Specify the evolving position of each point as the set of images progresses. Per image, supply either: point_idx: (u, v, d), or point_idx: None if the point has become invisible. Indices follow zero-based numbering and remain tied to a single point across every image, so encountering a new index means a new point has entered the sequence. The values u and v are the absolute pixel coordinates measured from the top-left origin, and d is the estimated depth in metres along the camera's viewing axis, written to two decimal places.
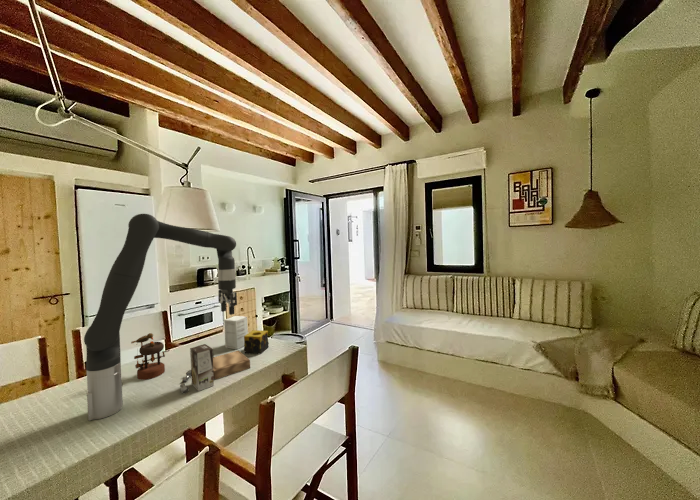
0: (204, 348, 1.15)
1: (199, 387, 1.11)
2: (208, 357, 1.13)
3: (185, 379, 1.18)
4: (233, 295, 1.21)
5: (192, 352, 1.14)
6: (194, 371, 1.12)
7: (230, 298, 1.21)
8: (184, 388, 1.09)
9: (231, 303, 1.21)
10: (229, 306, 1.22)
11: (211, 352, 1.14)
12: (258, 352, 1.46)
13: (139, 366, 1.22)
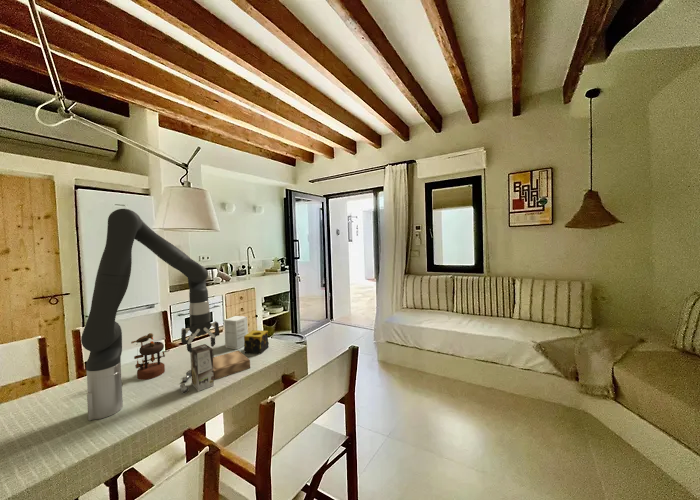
0: (204, 348, 1.15)
1: (199, 387, 1.11)
2: (208, 357, 1.13)
3: (185, 379, 1.18)
4: None
5: (192, 352, 1.14)
6: (194, 371, 1.12)
7: (216, 328, 1.18)
8: (184, 388, 1.09)
9: (218, 332, 1.19)
10: (213, 337, 1.17)
11: (211, 352, 1.14)
12: (258, 352, 1.46)
13: (139, 366, 1.22)
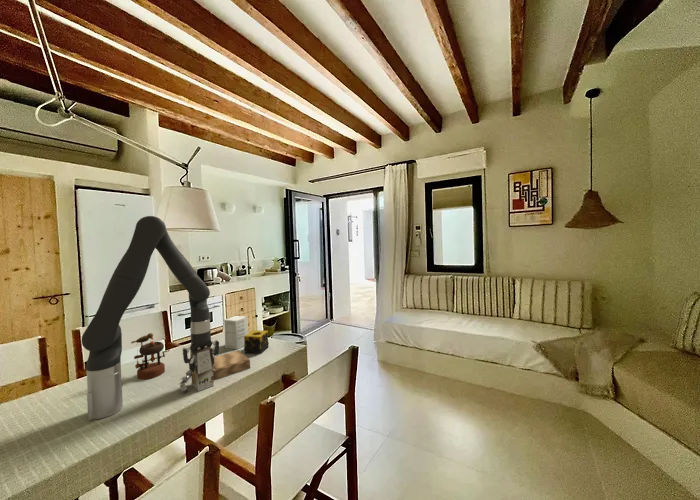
0: (204, 348, 1.15)
1: (199, 387, 1.11)
2: (208, 357, 1.13)
3: (185, 379, 1.18)
4: None
5: (192, 352, 1.14)
6: (194, 371, 1.12)
7: (216, 347, 1.18)
8: (184, 388, 1.09)
9: (218, 352, 1.18)
10: None
11: (211, 352, 1.14)
12: (258, 352, 1.46)
13: (139, 366, 1.22)
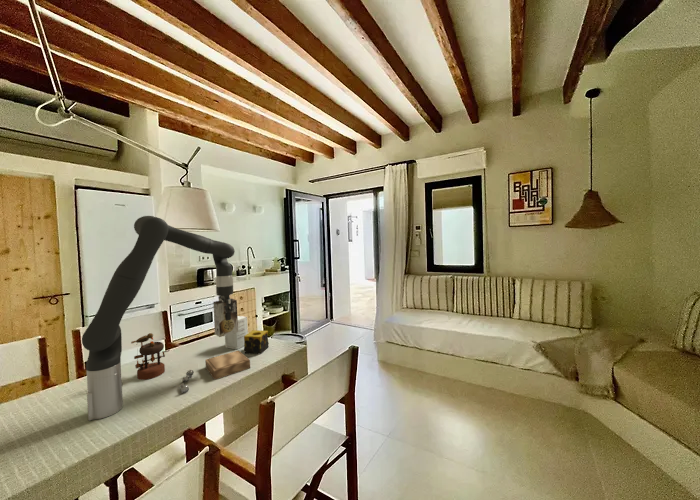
0: None
1: (237, 329, 1.32)
2: None
3: (185, 379, 1.18)
4: None
5: (225, 304, 1.27)
6: None
7: None
8: (184, 388, 1.09)
9: None
10: None
11: None
12: (258, 352, 1.46)
13: (139, 366, 1.22)
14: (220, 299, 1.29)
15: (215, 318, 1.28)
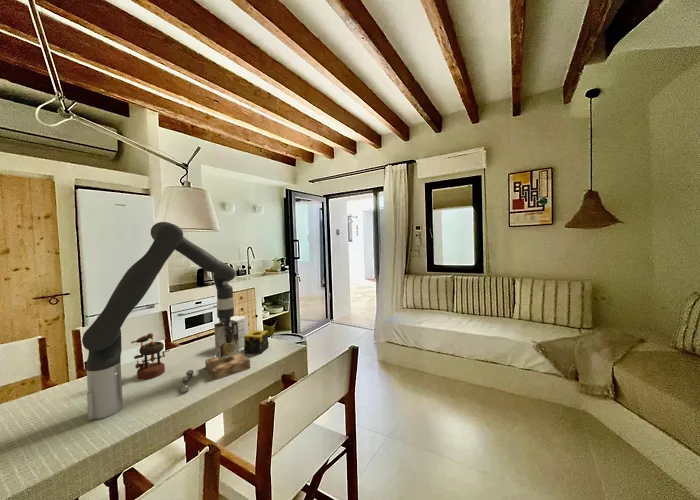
0: None
1: (238, 350, 1.32)
2: None
3: (185, 379, 1.18)
4: None
5: (226, 327, 1.27)
6: None
7: None
8: (184, 388, 1.09)
9: None
10: None
11: None
12: (258, 352, 1.46)
13: (139, 366, 1.22)
14: (221, 321, 1.29)
15: (216, 341, 1.28)
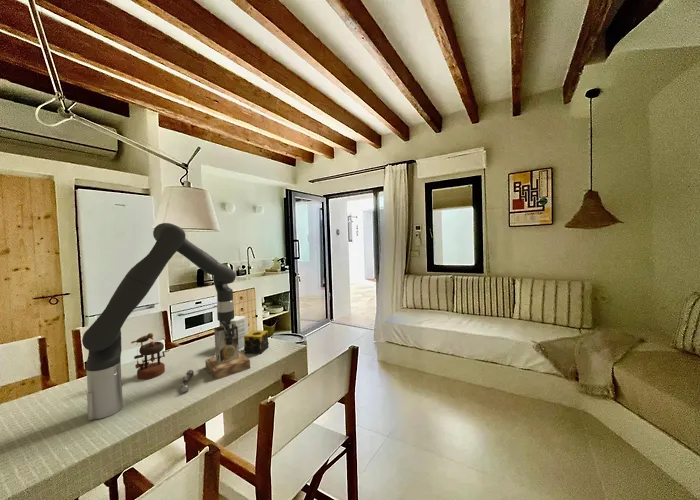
0: None
1: (238, 354, 1.32)
2: None
3: (185, 379, 1.18)
4: None
5: None
6: (231, 345, 1.29)
7: None
8: (184, 388, 1.09)
9: None
10: None
11: None
12: (258, 352, 1.46)
13: (139, 366, 1.22)
14: (221, 324, 1.30)
15: (216, 345, 1.28)
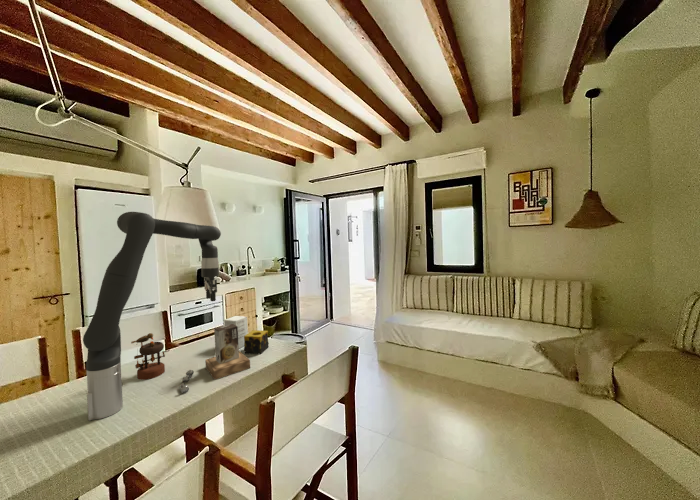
0: (227, 325, 1.32)
1: (238, 354, 1.32)
2: None
3: (185, 379, 1.18)
4: None
5: (226, 331, 1.27)
6: (231, 345, 1.29)
7: None
8: (184, 388, 1.09)
9: None
10: None
11: None
12: (258, 352, 1.46)
13: (139, 366, 1.22)
14: (205, 281, 1.31)
15: (216, 345, 1.28)
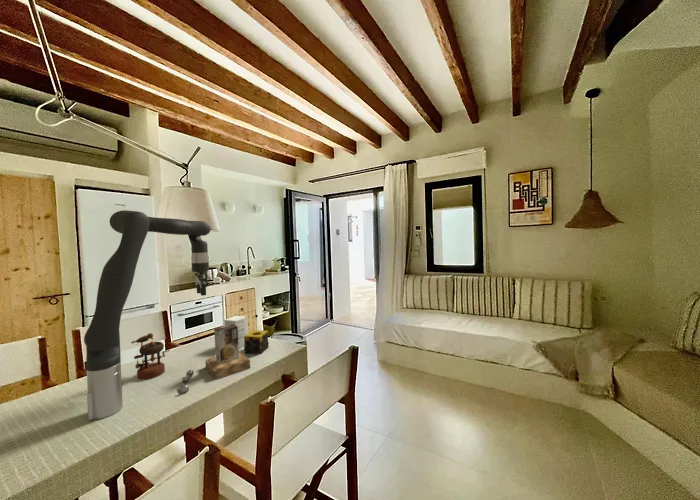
0: (227, 325, 1.32)
1: (238, 354, 1.32)
2: None
3: (185, 379, 1.18)
4: None
5: (226, 331, 1.27)
6: (231, 345, 1.29)
7: None
8: (184, 388, 1.09)
9: None
10: None
11: None
12: (258, 352, 1.46)
13: (139, 366, 1.22)
14: (195, 276, 1.32)
15: (216, 345, 1.28)
